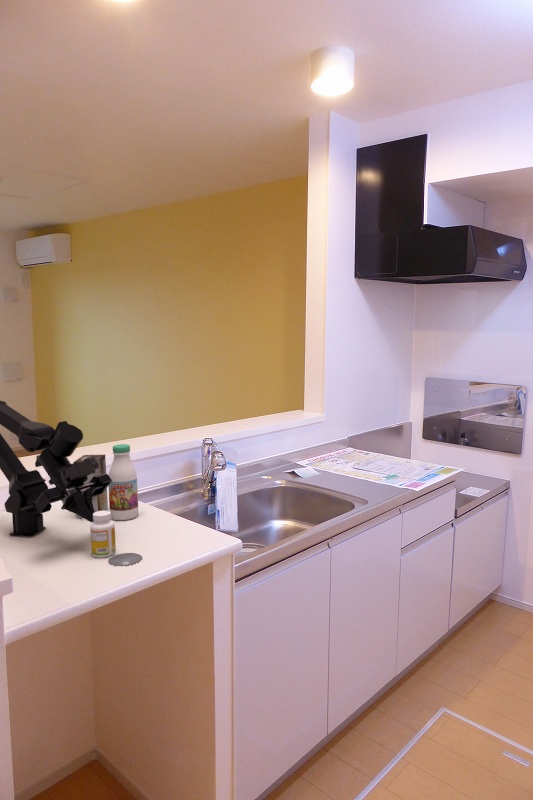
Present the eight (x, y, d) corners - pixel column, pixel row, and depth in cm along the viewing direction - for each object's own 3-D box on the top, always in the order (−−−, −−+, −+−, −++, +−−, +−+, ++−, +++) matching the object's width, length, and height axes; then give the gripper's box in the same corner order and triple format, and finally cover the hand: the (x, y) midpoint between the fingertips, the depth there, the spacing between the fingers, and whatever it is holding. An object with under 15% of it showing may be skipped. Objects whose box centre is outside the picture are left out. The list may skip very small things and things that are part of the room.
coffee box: (86, 508, 170) (83, 454, 168) (108, 508, 169) (106, 454, 167) (75, 519, 160) (72, 461, 158) (99, 518, 160) (96, 461, 158)
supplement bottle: (106, 547, 139) (104, 507, 138) (120, 553, 136) (118, 512, 134) (86, 554, 135) (84, 513, 134) (100, 560, 132) (98, 518, 130)
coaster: (102, 566, 129) (102, 564, 129) (117, 553, 136) (117, 551, 136) (134, 568, 127) (134, 567, 127) (147, 555, 134) (147, 554, 134)
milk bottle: (107, 514, 164) (104, 444, 162) (135, 510, 167) (132, 441, 165) (112, 522, 157) (108, 449, 154) (141, 518, 160) (138, 446, 158)
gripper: (39, 455, 129) (76, 511, 124) (104, 441, 145) (139, 490, 140) (20, 485, 134) (54, 540, 130) (84, 468, 150) (117, 517, 145)
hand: (93, 520), depth 136 cm, fingers closed
